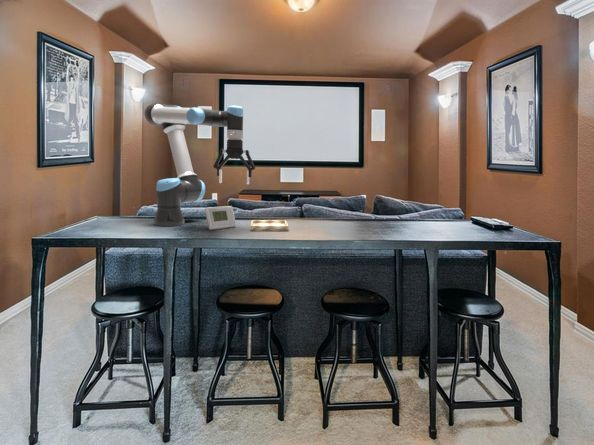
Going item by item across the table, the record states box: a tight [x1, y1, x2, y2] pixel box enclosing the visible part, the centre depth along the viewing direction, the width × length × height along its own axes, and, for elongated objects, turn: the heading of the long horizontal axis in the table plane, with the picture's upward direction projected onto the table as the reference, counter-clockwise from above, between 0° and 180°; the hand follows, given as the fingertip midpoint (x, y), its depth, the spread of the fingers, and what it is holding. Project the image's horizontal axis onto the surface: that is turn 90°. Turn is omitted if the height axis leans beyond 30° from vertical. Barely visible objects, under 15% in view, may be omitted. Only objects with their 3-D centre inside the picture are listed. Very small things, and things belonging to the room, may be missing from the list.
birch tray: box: [249, 219, 289, 232], centre depth 217 cm, size 18×20×2 cm
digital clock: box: [204, 205, 237, 231], centre depth 214 cm, size 16×9×11 cm, turn 123°
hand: (234, 183), depth 212 cm, fingers open, 13 cm apart
